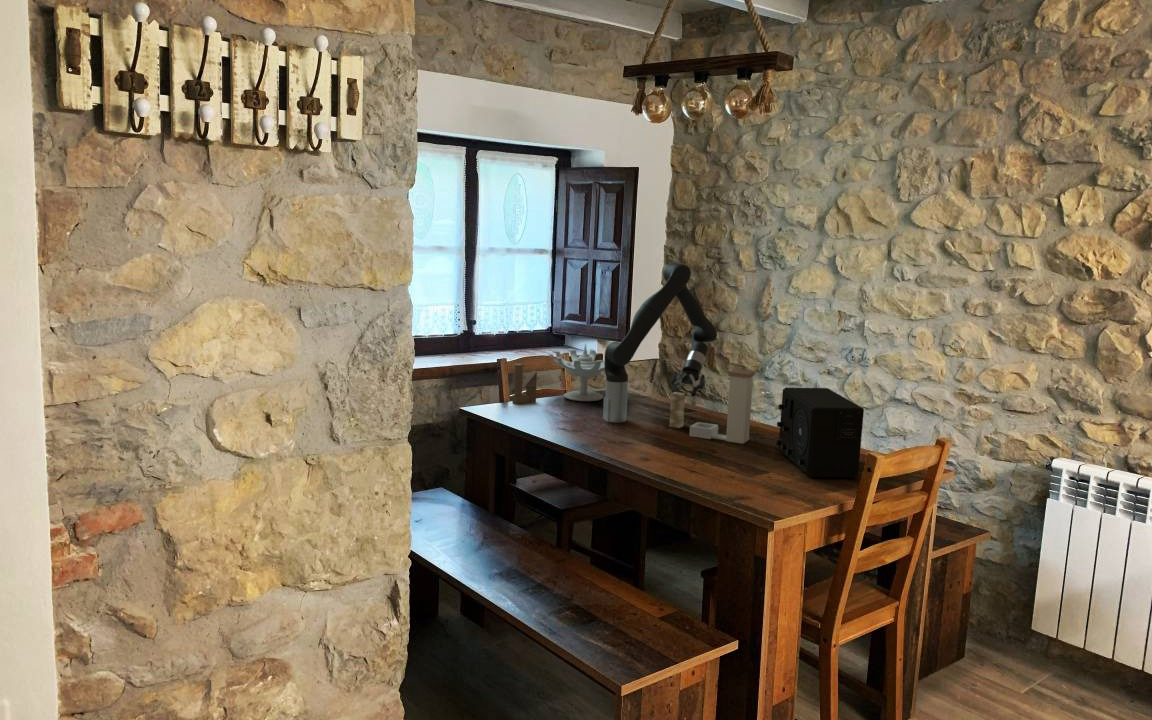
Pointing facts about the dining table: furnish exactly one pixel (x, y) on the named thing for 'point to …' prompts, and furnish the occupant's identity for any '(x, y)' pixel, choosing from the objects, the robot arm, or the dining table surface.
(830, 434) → the vintage radio
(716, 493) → the dining table surface
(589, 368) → the candelabra
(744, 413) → the post
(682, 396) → the block
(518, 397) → the wooden block
